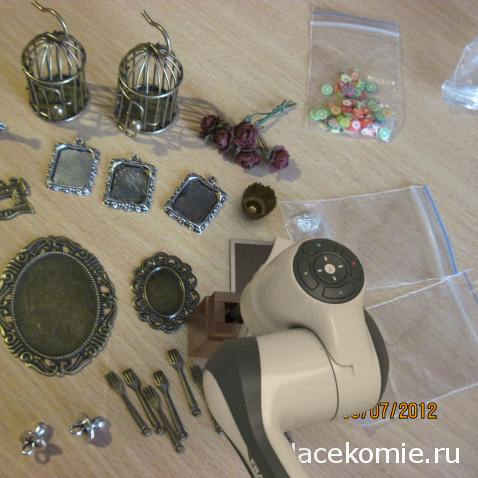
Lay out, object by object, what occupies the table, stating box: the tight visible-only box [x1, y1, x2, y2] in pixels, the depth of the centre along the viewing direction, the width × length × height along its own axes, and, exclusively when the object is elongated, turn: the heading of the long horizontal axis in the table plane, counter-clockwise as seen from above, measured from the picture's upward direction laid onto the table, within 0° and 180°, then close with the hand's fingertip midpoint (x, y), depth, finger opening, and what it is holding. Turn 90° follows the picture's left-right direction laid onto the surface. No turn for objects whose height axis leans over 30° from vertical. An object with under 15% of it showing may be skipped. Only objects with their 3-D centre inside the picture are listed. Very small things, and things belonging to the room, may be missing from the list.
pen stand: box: [187, 290, 244, 359], centre depth 102 cm, size 8×8×25 cm
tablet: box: [229, 238, 273, 293], centre depth 118 cm, size 22×16×1 cm
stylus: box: [225, 302, 241, 323], centre depth 89 cm, size 2×2×13 cm
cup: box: [240, 181, 278, 221], centre depth 121 cm, size 8×7×8 cm
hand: (249, 325), depth 80 cm, fingers open, 8 cm apart
